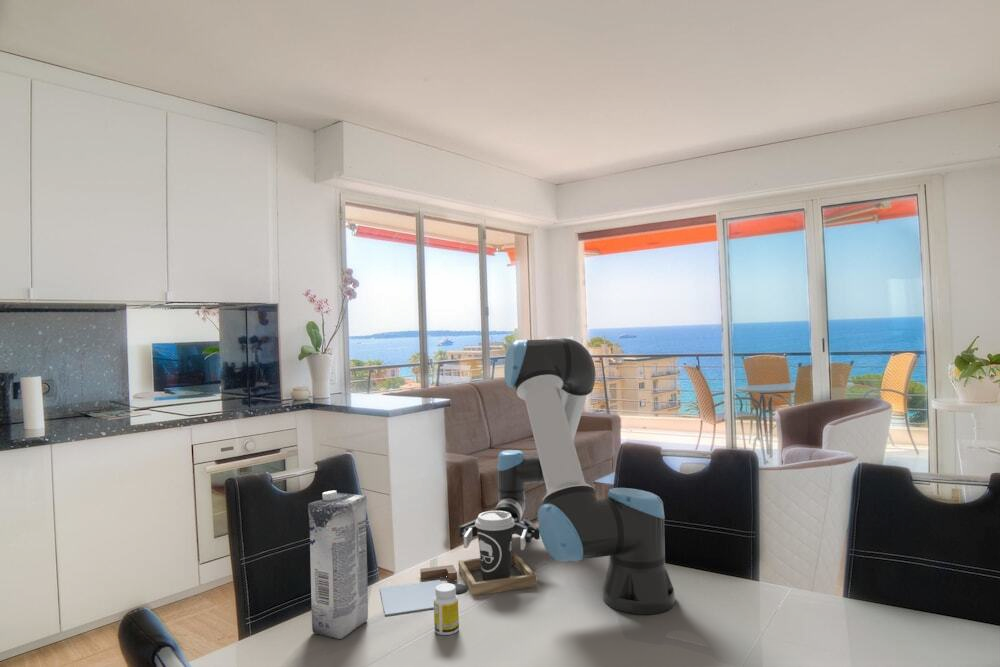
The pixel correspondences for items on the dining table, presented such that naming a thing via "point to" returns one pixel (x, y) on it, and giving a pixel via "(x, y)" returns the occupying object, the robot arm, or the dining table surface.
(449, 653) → the dining table surface
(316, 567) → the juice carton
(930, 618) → the dining table surface
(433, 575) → the walnut crook
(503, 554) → the coffee cup
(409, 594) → the slate pad
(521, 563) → the wooden square frame
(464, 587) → the dark grey round disc
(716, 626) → the dining table surface
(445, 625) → the supplement bottle
